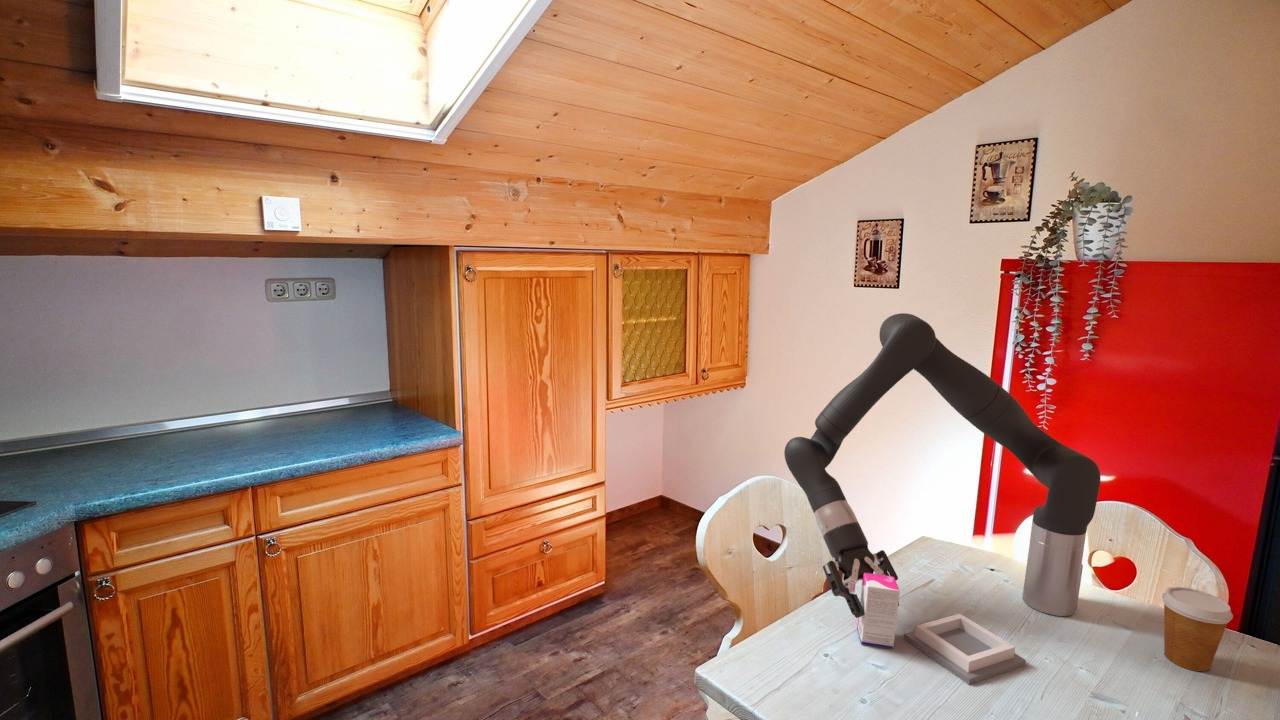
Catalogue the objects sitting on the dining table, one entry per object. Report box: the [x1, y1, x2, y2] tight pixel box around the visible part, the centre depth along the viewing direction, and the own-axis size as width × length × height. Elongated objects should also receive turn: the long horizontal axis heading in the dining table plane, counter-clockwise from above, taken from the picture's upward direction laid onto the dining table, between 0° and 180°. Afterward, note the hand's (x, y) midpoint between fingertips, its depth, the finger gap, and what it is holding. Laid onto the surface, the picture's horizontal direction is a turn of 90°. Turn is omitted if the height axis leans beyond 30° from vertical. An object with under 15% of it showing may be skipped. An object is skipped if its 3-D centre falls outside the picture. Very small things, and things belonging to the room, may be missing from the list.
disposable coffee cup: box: [1161, 586, 1234, 673], centre depth 113 cm, size 10×10×12 cm
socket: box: [903, 613, 1026, 685], centre depth 115 cm, size 14×14×3 cm
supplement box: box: [856, 573, 901, 650], centre depth 117 cm, size 6×6×12 cm
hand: (878, 612), depth 117 cm, fingers closed on supplement box, 8 cm apart
